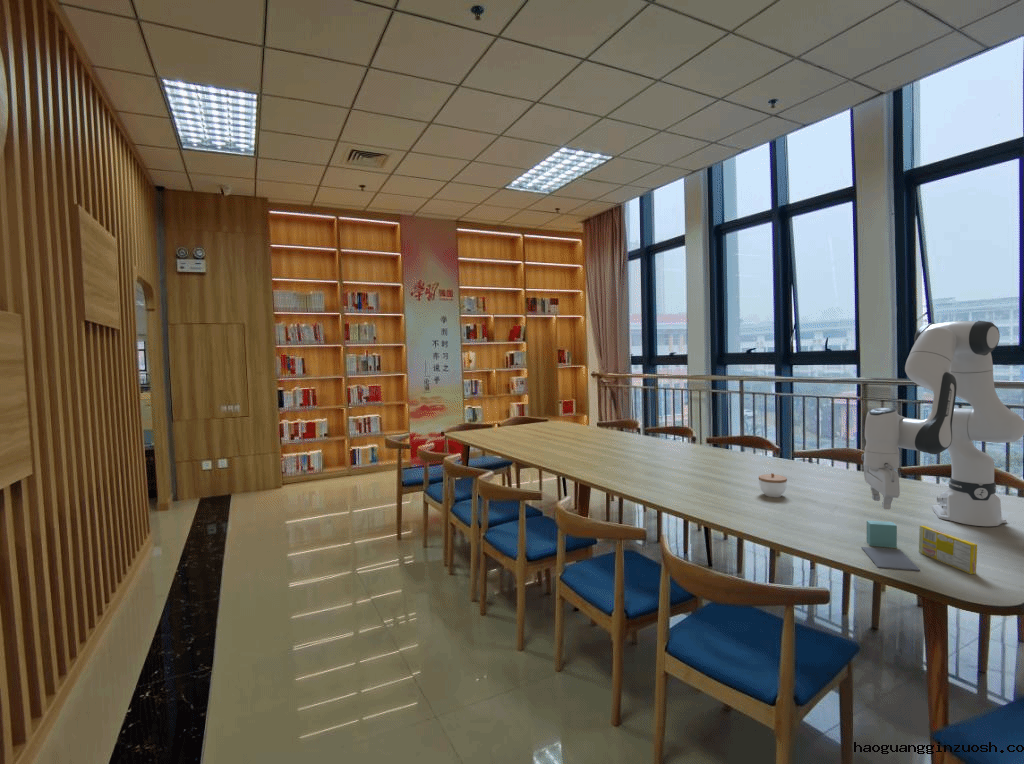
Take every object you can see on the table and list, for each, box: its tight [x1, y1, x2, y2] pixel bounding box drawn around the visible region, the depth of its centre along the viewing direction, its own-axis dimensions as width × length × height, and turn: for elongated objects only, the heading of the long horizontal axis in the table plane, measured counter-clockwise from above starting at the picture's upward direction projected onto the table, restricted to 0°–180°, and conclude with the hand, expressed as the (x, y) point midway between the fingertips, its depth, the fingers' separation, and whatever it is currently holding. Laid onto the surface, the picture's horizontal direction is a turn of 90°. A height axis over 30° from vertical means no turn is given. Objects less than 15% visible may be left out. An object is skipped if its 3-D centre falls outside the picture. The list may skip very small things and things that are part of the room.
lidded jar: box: [758, 472, 788, 498], centre depth 220 cm, size 11×11×9 cm
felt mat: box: [861, 546, 921, 572], centre depth 152 cm, size 15×10×1 cm, turn 161°
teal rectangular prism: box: [866, 519, 898, 549], centre depth 163 cm, size 4×7×7 cm, turn 71°
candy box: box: [918, 525, 978, 575], centre depth 149 cm, size 16×2×8 cm, turn 6°
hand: (881, 504), depth 162 cm, fingers open, 8 cm apart
